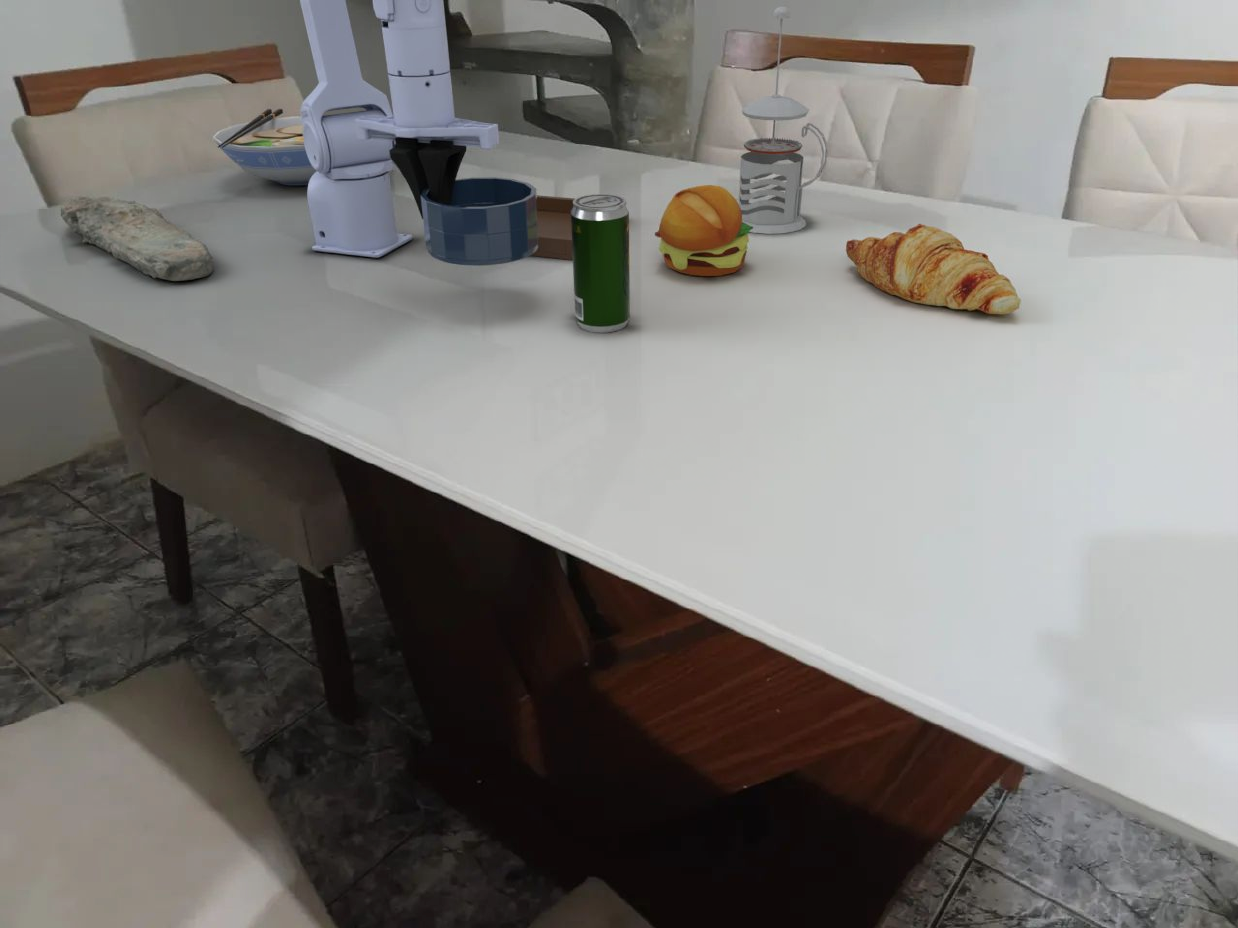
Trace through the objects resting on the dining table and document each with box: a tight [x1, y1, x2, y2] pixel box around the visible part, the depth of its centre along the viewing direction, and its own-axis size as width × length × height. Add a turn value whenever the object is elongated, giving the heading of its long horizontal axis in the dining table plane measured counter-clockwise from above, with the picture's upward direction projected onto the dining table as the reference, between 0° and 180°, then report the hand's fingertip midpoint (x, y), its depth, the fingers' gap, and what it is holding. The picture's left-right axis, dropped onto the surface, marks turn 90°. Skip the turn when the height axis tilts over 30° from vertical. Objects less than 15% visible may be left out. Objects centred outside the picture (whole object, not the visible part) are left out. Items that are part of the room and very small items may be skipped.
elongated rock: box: [60, 195, 214, 282], centre depth 113 cm, size 35×5×10 cm
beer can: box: [571, 193, 631, 334], centre depth 89 cm, size 5×5×12 cm
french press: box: [737, 6, 829, 235], centre depth 113 cm, size 10×12×25 cm
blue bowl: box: [421, 176, 539, 267], centre depth 92 cm, size 11×11×6 cm
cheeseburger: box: [654, 184, 753, 277], centre depth 103 cm, size 10×11×10 cm
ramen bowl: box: [212, 108, 317, 186], centre depth 140 cm, size 25×23×8 cm
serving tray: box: [530, 194, 576, 261], centre depth 117 cm, size 18×17×2 cm
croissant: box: [845, 223, 1021, 315], centre depth 96 cm, size 21×10×8 cm, turn 39°
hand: (436, 217), depth 94 cm, fingers closed on blue bowl
